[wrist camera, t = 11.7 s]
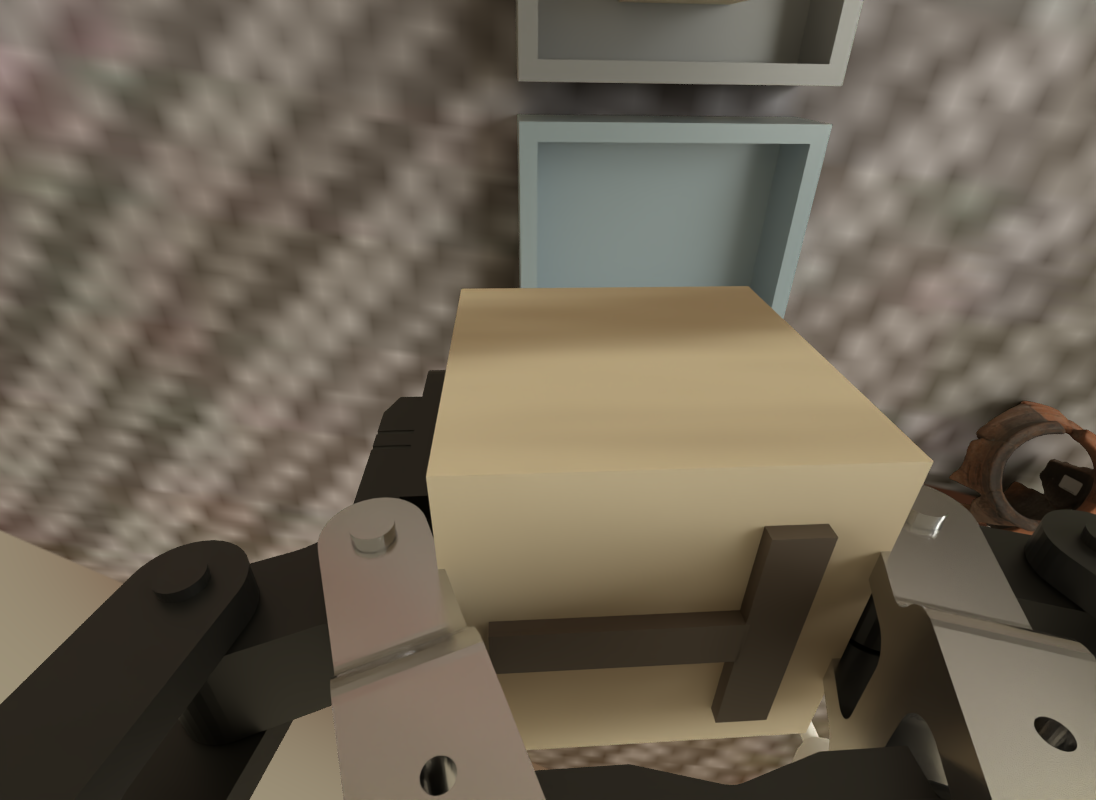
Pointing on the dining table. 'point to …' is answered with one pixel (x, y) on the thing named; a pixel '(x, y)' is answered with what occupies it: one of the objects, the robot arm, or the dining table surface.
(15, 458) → the dining table surface
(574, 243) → the slate bin
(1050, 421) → the pottery mug
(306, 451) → the dining table surface
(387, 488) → the robot arm
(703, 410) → the letter cube
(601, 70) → the charcoal bin
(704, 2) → the blank cube
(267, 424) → the dining table surface
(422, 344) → the dining table surface
